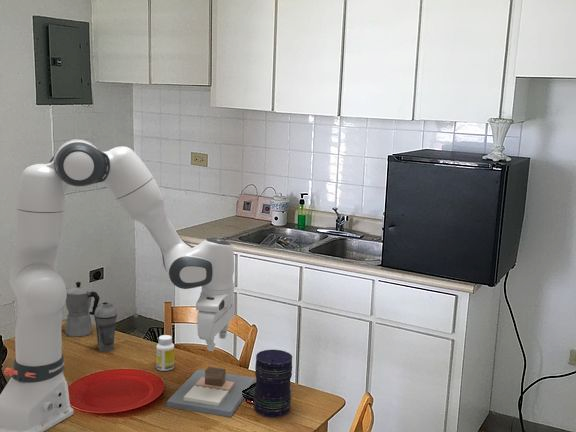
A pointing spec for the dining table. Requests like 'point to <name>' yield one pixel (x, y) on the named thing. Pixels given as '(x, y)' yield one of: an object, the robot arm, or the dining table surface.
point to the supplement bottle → (165, 353)
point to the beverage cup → (105, 325)
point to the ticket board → (210, 395)
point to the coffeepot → (80, 310)
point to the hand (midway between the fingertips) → (217, 343)
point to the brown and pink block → (215, 379)
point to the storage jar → (273, 383)
